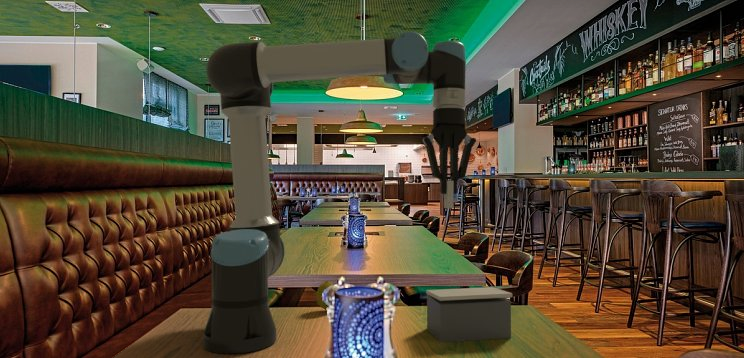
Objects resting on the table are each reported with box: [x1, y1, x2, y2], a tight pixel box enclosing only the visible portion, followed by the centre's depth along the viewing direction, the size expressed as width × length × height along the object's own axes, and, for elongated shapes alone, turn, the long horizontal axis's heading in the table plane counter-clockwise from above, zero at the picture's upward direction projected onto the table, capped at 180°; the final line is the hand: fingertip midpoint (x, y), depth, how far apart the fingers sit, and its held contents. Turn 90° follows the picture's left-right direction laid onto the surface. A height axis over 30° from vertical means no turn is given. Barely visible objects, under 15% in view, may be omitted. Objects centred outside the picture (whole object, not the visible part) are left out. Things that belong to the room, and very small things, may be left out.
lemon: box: [316, 280, 335, 311], centre depth 132 cm, size 6×6×8 cm
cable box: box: [426, 294, 512, 343], centre depth 113 cm, size 16×10×8 cm, turn 100°
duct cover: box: [425, 286, 513, 301], centre depth 113 cm, size 16×10×1 cm, turn 100°
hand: (448, 207), depth 120 cm, fingers closed
